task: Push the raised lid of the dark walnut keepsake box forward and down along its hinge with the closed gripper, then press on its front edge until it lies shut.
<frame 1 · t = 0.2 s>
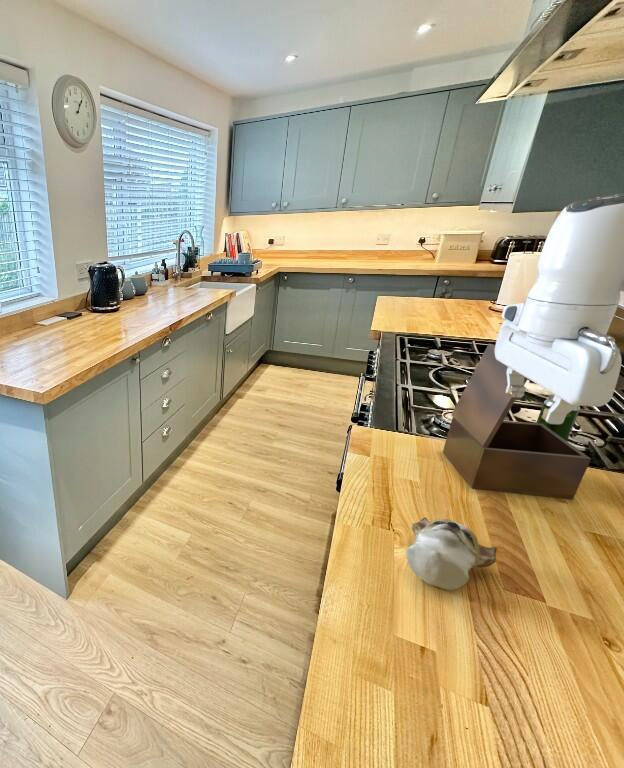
hand: (531, 408, 64), 22 cm above the table, tool pointing down, fingers open, 8 cm apart
beer can: (543, 451, 92), on the table
ceramic sculpture: (440, 566, 64), on the table
box lid: (488, 393, 80), point 17 cm above the table, hinge at 80.0°
keepsake box: (501, 473, 85), on the table
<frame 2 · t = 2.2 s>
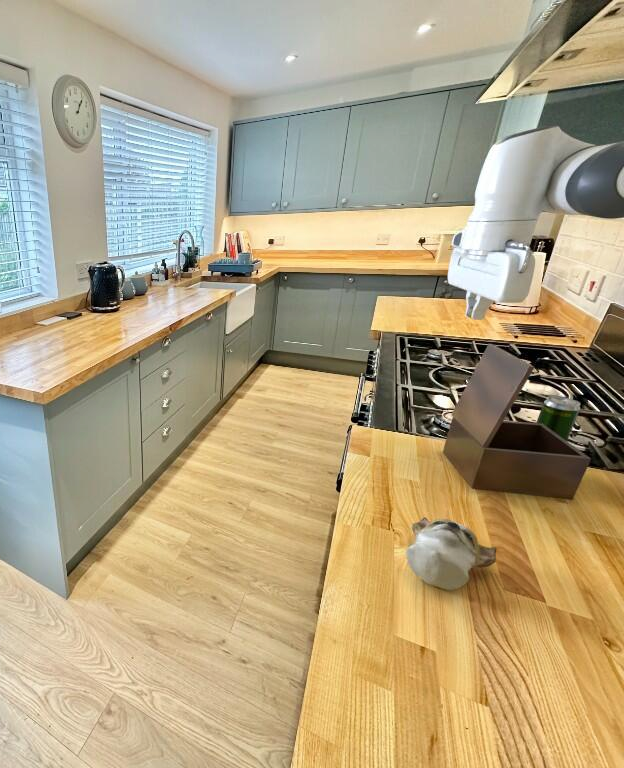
hand: (473, 317, 76), 32 cm above the table, tool pointing down, fingers closed
nothing on the table moved.
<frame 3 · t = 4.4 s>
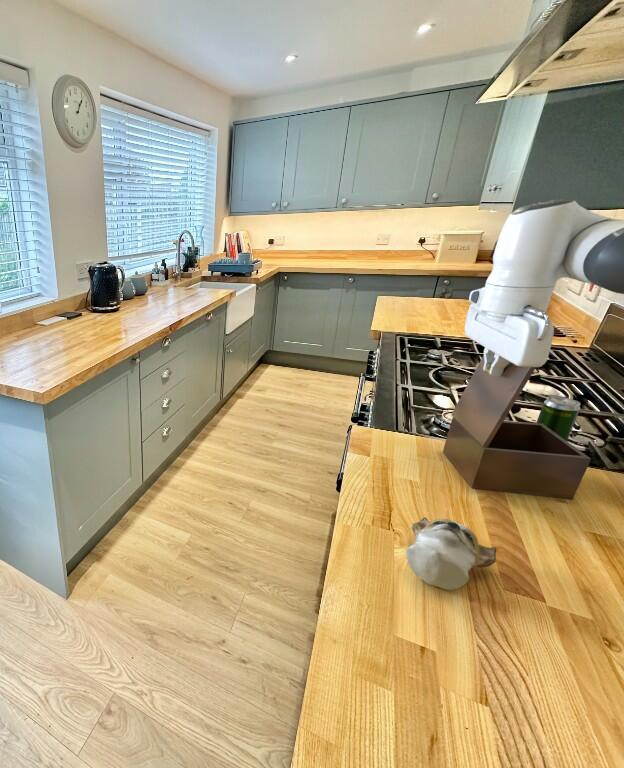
hand: (491, 373, 79), 22 cm above the table, tool pointing down, fingers closed, pressing on box lid
box lid: (488, 393, 80), point 17 cm above the table, hinge at 79.3°, touching gripper
everything else where it was.
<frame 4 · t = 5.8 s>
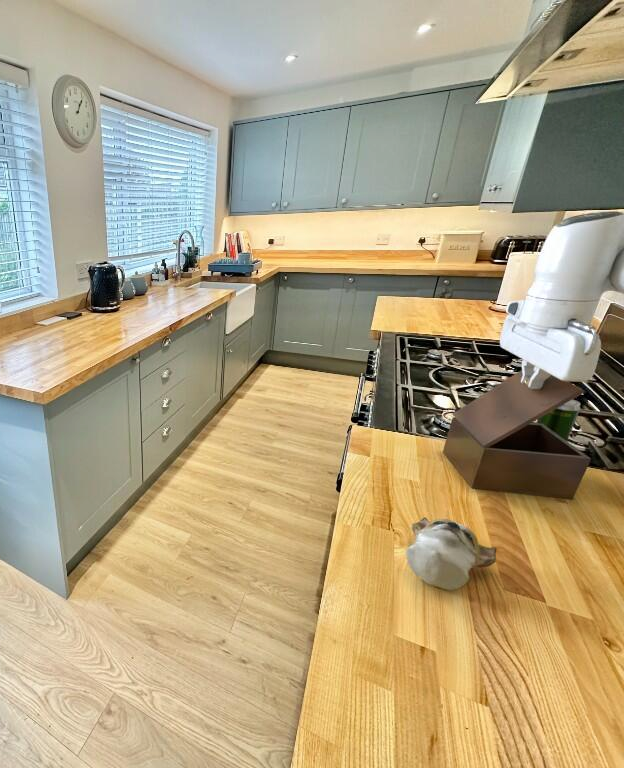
hand: (530, 386, 78), 19 cm above the table, tool pointing down, fingers closed, pressing on box lid
box lid: (510, 404, 80), point 15 cm above the table, hinge at 48.6°, touching gripper
everything else where it was.
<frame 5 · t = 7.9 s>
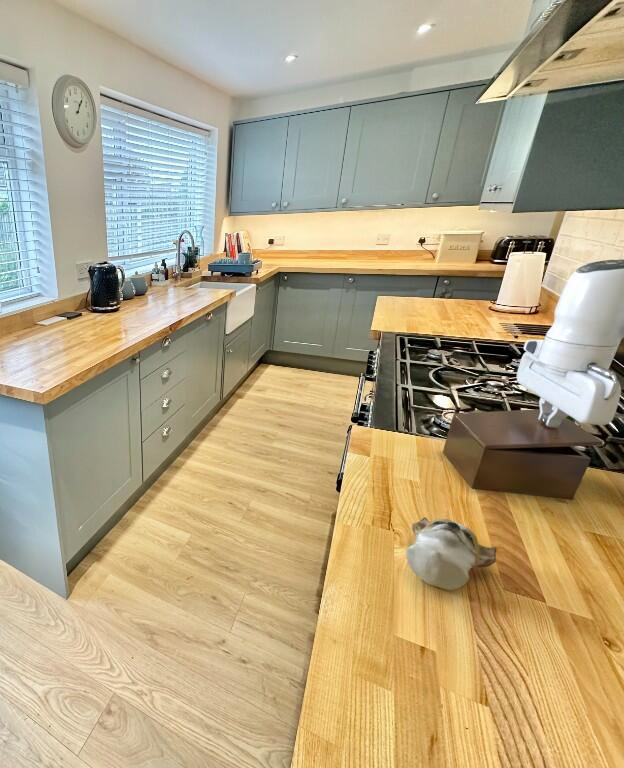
hand: (547, 424, 79), 12 cm above the table, tool pointing down, fingers closed, pressing on box lid
box lid: (519, 427, 81), point 11 cm above the table, hinge at 9.4°, touching gripper
everything else where it was.
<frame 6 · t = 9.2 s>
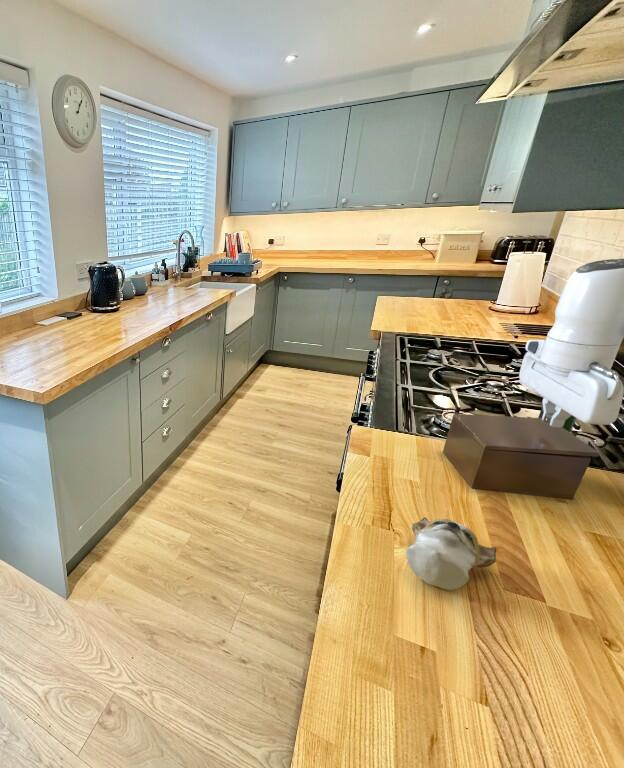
hand: (551, 423, 79), 12 cm above the table, tool pointing down, fingers closed
box lid: (518, 433, 81), point 9 cm above the table, hinge at 1.5°
everything else where it was.
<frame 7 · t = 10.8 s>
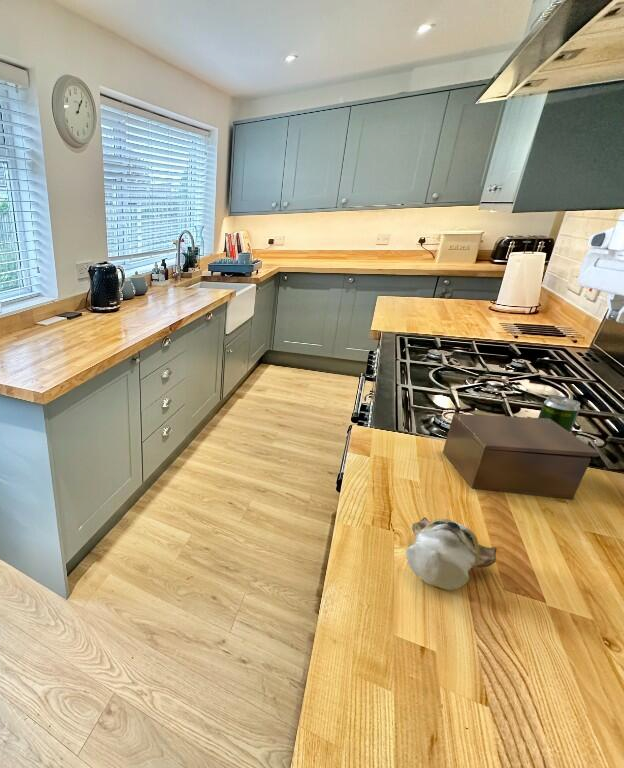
hand: (617, 321, 73), 31 cm above the table, tool pointing down, fingers closed
nothing on the table moved.
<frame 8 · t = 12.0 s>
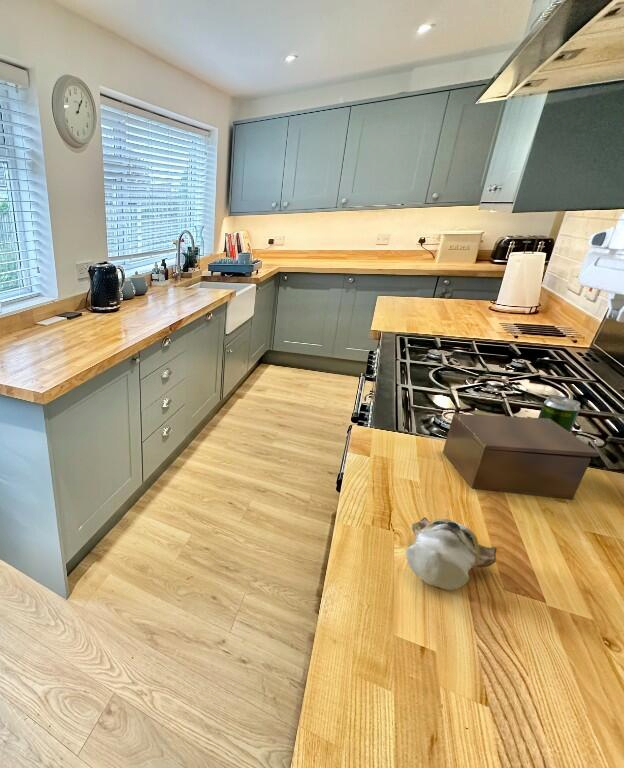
hand: (617, 320, 73), 31 cm above the table, tool pointing down, fingers closed
nothing on the table moved.
at the end: box lid at +2° (first picture: +80°) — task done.
